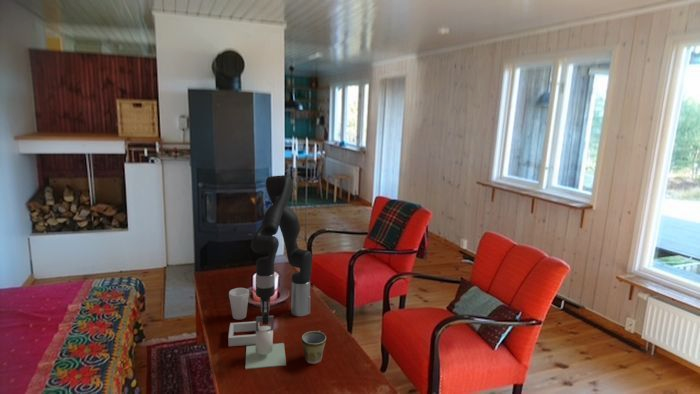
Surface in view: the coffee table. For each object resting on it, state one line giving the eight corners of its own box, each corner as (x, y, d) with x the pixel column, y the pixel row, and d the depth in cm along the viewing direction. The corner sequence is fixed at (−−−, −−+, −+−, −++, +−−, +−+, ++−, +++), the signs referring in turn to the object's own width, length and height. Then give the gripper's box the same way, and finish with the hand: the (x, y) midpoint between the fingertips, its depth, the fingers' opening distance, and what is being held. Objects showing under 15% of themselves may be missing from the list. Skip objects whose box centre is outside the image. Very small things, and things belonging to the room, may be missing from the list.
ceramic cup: (322, 368, 168) (322, 345, 166) (298, 364, 170) (298, 341, 168) (330, 350, 180) (330, 329, 178) (307, 347, 182) (308, 326, 180)
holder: (259, 328, 195) (259, 321, 195) (259, 344, 183) (259, 335, 182) (230, 331, 193) (230, 323, 192) (228, 346, 180) (228, 338, 179)
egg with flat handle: (255, 345, 176) (256, 312, 173) (272, 344, 178) (273, 312, 175) (255, 355, 170) (256, 321, 167) (272, 354, 171) (273, 320, 168)
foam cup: (251, 312, 210) (251, 288, 208) (245, 321, 201) (245, 296, 199) (233, 311, 211) (233, 287, 209) (226, 320, 202) (225, 295, 200)
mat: (283, 343, 184) (283, 343, 184) (286, 365, 169) (286, 364, 168) (246, 346, 180) (246, 346, 180) (245, 369, 165) (245, 368, 165)
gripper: (275, 290, 162) (275, 331, 166) (274, 276, 175) (274, 314, 179) (255, 291, 161) (255, 332, 164) (255, 277, 174) (256, 316, 177)
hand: (265, 323), depth 172 cm, fingers closed on egg with flat handle, 1 cm apart
